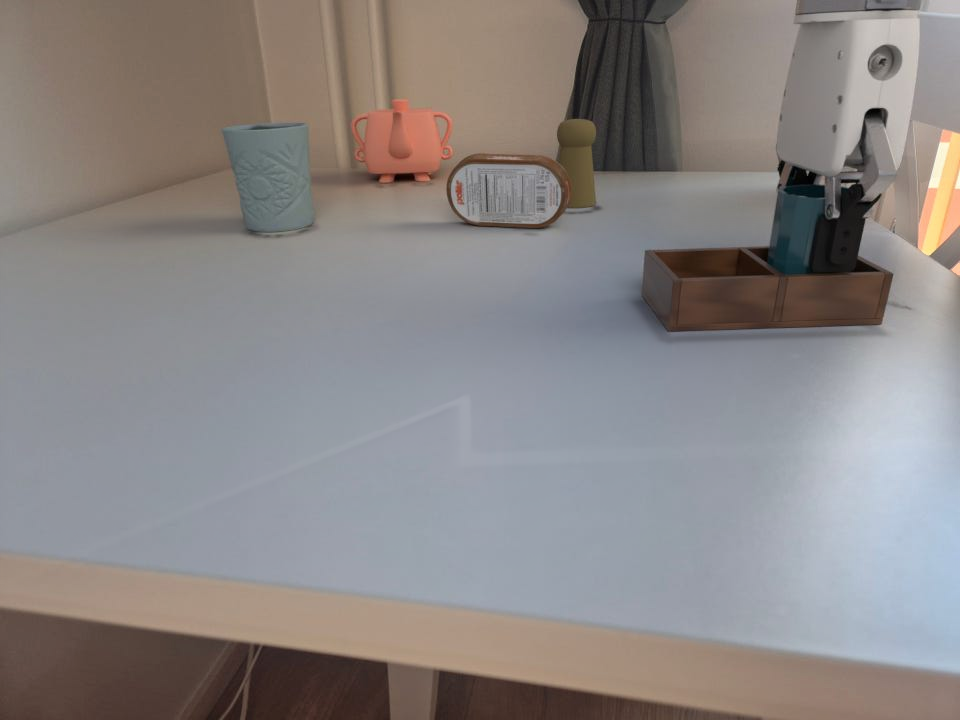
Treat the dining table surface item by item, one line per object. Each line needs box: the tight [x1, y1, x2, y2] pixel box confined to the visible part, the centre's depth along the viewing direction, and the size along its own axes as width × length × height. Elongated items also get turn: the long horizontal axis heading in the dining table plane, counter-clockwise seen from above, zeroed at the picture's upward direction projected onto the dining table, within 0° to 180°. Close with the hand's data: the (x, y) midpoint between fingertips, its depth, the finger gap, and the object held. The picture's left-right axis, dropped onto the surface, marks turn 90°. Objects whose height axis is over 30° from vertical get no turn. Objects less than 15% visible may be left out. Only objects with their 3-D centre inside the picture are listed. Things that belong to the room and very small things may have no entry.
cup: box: [766, 183, 850, 275], centre depth 53 cm, size 6×6×8 cm
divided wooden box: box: [640, 245, 894, 332], centre depth 54 cm, size 16×8×4 cm, turn 91°
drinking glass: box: [221, 122, 315, 233], centre depth 84 cm, size 10×10×12 cm
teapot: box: [350, 98, 454, 184], centre depth 114 cm, size 15×17×13 cm
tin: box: [445, 152, 572, 229], centre depth 81 cm, size 15×3×8 cm, turn 74°
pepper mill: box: [556, 118, 597, 209], centre depth 91 cm, size 6×6×11 cm
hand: (809, 255), depth 53 cm, fingers closed on cup, 6 cm apart
